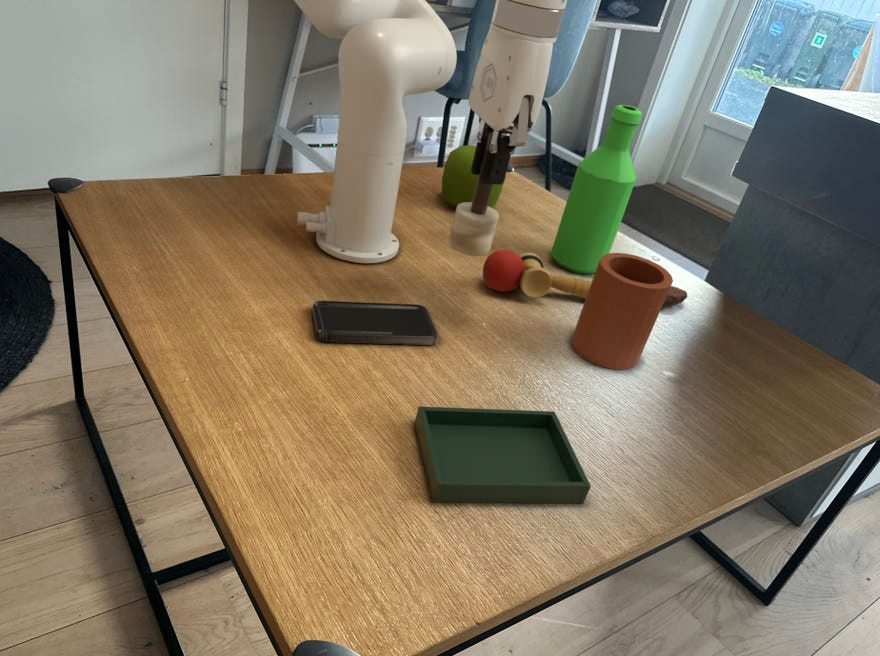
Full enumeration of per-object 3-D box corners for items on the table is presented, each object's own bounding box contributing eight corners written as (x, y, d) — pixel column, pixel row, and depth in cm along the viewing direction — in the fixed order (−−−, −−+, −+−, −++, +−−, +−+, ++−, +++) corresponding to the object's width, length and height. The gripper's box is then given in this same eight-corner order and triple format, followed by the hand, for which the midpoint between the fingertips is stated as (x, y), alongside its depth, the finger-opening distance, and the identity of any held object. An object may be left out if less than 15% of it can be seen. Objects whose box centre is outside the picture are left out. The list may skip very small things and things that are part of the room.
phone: (312, 300, 89) (425, 304, 93) (311, 307, 90) (424, 311, 94) (318, 334, 83) (439, 338, 87) (317, 342, 84) (437, 345, 88)
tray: (433, 502, 66) (437, 484, 64) (414, 423, 75) (418, 406, 73) (583, 503, 69) (591, 486, 67) (548, 427, 78) (554, 411, 76)
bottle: (603, 281, 111) (662, 122, 97) (549, 268, 111) (599, 108, 97) (601, 258, 118) (656, 107, 104) (550, 246, 119) (597, 94, 104)
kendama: (583, 292, 109) (474, 264, 105) (603, 261, 105) (491, 230, 101) (592, 326, 104) (478, 297, 100) (614, 294, 99) (495, 263, 96)
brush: (453, 254, 91) (480, 139, 82) (445, 234, 95) (470, 124, 87) (494, 258, 92) (525, 145, 83) (484, 238, 96) (513, 130, 88)
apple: (505, 219, 125) (521, 160, 119) (447, 216, 122) (461, 155, 116) (485, 194, 134) (498, 138, 128) (431, 191, 131) (442, 132, 125)
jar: (585, 367, 89) (616, 285, 82) (562, 329, 96) (589, 250, 90) (649, 371, 91) (685, 290, 84) (622, 332, 98) (653, 255, 91)
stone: (632, 301, 106) (640, 283, 105) (644, 285, 112) (652, 268, 110) (675, 319, 104) (683, 300, 102) (685, 302, 110) (693, 284, 108)
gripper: (469, 0, 82) (437, 153, 93) (526, 33, 70) (483, 204, 81) (526, 8, 85) (489, 156, 95) (590, 42, 73) (540, 207, 83)
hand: (486, 177), depth 88 cm, fingers closed on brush
